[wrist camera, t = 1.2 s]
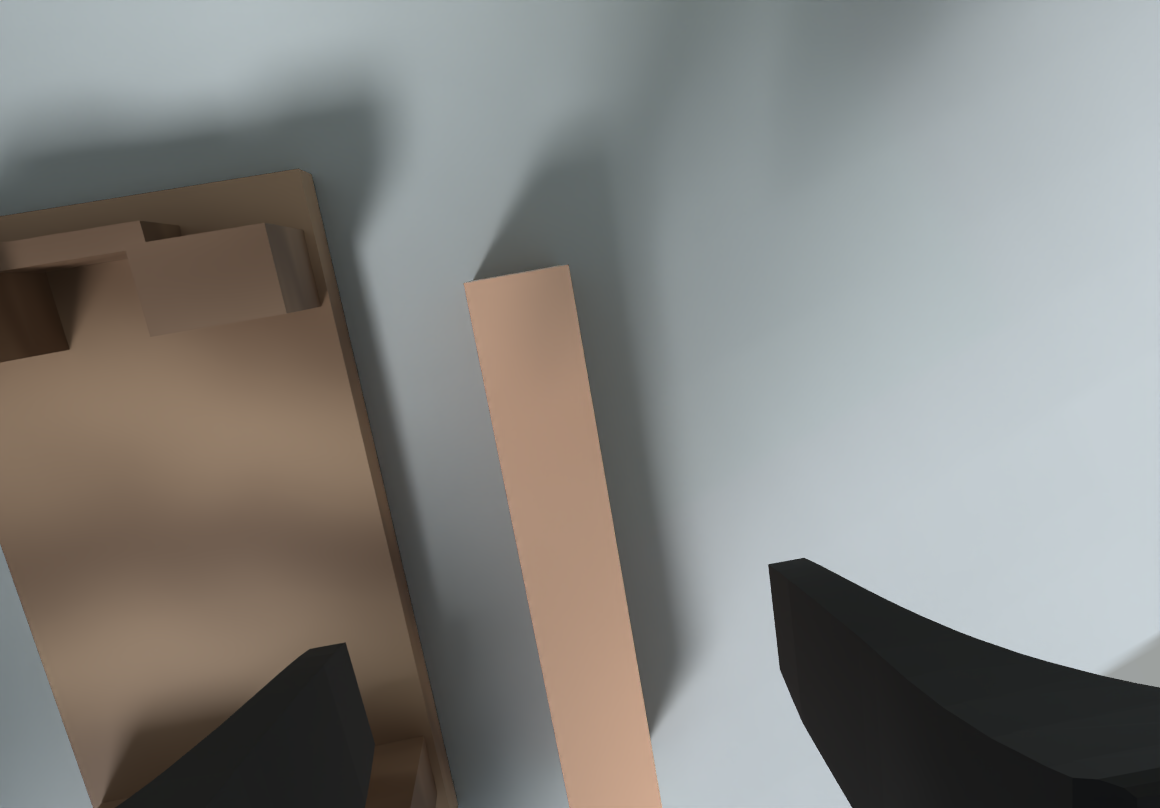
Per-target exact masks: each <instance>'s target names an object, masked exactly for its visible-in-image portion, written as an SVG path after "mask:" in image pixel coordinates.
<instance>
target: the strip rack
mask: <svg viewBox="0 0 1160 808" xmlns="http://www.w3.org/2000/svg"><path fill="white" fill-rule="evenodd" d="M0 544H1V547H2V550H3V553H4V555H5V558H6V561H7V564H8V567H9V570H10V573H11V575H12V578H13V581H14V584H15V587H16V590H17V593H18V595H19V598H20V601H21V604H22V607H23V610H24V612H25V615H26V618H27V621H28V624H29V627H30V630H31V632H32V635H33V638H34V641H35V644H36V647H37V649H38V652H39V655H40V658H41V661H42V664H43V667H44V669H45V672H46V675H47V678H48V681H49V684H50V686H51V689H52V692H53V695H54V698H55V701H56V704H57V706H58V709H59V712H60V715H61V718H62V721H63V723H64V726H65V729H66V732H67V735H68V738H69V741H70V743H71V746H72V749H73V752H74V755H75V758H76V760H77V763H78V766H79V769H80V772H81V775H82V778H83V780H84V783H85V786H86V789H87V792H88V795H89V797H90V800H91V803H92V806H93V808H115V807H117V806H118V805H120V804H121V803H122V802H124V801H125V800H127V799H128V798H129V797H131V796H132V795H134V794H135V793H136V792H138V791H139V790H140V789H142V788H143V787H144V786H146V785H147V784H148V783H150V782H151V781H152V780H154V779H155V778H156V777H157V776H159V775H160V774H161V773H163V772H164V771H165V770H166V769H168V768H169V767H170V766H171V765H173V764H174V763H175V762H176V761H177V760H179V759H180V758H181V757H182V756H183V755H185V754H186V753H187V752H188V751H190V750H191V749H192V748H193V747H194V746H196V745H197V744H198V743H199V742H201V741H202V740H203V739H204V738H205V737H207V736H208V735H209V734H210V733H211V732H213V731H214V730H215V729H216V728H218V727H219V726H220V725H221V724H222V723H223V722H224V721H226V720H227V719H228V718H229V717H230V716H231V715H232V714H234V713H235V712H236V711H237V710H238V709H239V708H240V707H242V706H243V705H244V704H245V703H246V702H247V701H248V700H249V699H251V698H252V697H253V696H254V695H255V694H256V693H257V692H259V691H260V690H261V689H262V688H263V687H264V686H265V685H266V684H268V683H269V682H270V681H271V680H272V679H273V678H274V677H275V676H277V675H278V674H279V673H280V672H281V671H282V670H284V669H285V668H286V667H287V666H288V665H289V664H291V663H292V662H293V661H294V660H295V659H297V658H298V657H299V656H301V655H302V654H303V653H305V652H306V651H307V650H309V649H312V648H317V647H323V646H328V645H333V644H339V643H344V642H346V645H347V649H348V652H349V656H350V659H351V663H352V666H353V669H354V673H355V676H356V680H357V683H358V687H359V690H360V694H361V697H362V701H363V704H364V708H365V711H366V715H367V718H368V722H369V725H370V728H371V732H372V735H373V739H374V742H375V749H374V756H373V763H372V770H371V777H370V782H369V788H368V794H367V799H366V805H365V808H458V802H457V797H456V793H455V789H454V785H453V780H452V776H451V772H450V767H449V763H448V759H447V754H446V750H445V746H444V742H443V737H442V733H441V729H440V724H439V720H438V716H437V712H436V707H435V703H434V699H433V694H432V690H431V686H430V681H429V677H428V673H427V669H426V664H425V660H424V656H423V651H422V647H421V643H420V638H419V634H418V630H417V626H416V621H415V617H414V613H413V608H412V604H411V600H410V596H409V591H408V587H407V583H406V578H405V574H404V570H403V565H402V561H401V557H400V553H399V548H398V544H397V540H396V535H395V531H394V527H393V522H392V518H391V514H390V510H389V505H388V501H387V497H386V492H385V488H384V484H383V479H382V475H381V471H380V467H379V462H378V458H377V454H376V449H375V445H374V441H373V437H372V432H371V428H370V424H369V419H368V415H367V411H366V406H365V402H364V398H363V394H362V389H361V385H360V381H359V376H358V372H357V368H356V363H355V359H354V355H353V351H352V346H351V342H350V338H349V333H348V329H347V325H346V321H345V316H344V312H343V308H342V303H341V299H340V295H339V290H338V286H337V282H336V278H335V273H334V269H333V265H332V260H331V256H330V252H329V247H328V243H327V239H326V235H325V230H324V226H323V222H322V217H321V213H320V209H319V205H318V200H317V196H316V192H315V187H314V183H313V179H312V175H311V174H309V173H307V172H305V171H303V170H301V169H293V170H287V171H281V172H274V173H268V174H262V175H256V176H249V177H243V178H237V179H231V180H224V181H218V182H212V183H206V184H199V185H193V186H187V187H181V188H174V189H168V190H162V191H156V192H149V193H143V194H137V195H131V196H124V197H118V198H112V199H106V200H99V201H93V202H87V203H81V204H74V205H68V206H62V207H56V208H49V209H43V210H37V211H31V212H24V213H18V214H12V215H5V216H0Z"/></svg>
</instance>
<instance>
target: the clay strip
mask: <svg viewBox="0 0 1160 808" xmlns="http://www.w3.org/2000/svg"><path fill="white" fill-rule="evenodd" d="M464 287H465V292H466V297H467V302H468V307H469V312H470V317H471V322H472V327H473V332H474V337H475V342H476V347H477V352H478V357H479V362H480V366H481V371H482V376H483V381H484V386H485V391H486V396H487V401H488V406H489V411H490V416H491V421H492V426H493V431H494V436H495V441H496V446H497V451H498V456H499V461H500V465H501V470H502V475H503V480H504V485H505V490H506V495H507V500H508V505H509V510H510V515H511V520H512V525H513V530H514V535H515V540H516V545H517V550H518V555H519V560H520V564H521V569H522V574H523V579H524V584H525V589H526V594H527V599H528V604H529V609H530V614H531V619H532V624H533V629H534V634H535V639H536V644H537V649H538V654H539V659H540V663H541V668H542V673H543V678H544V683H545V688H546V693H547V698H548V703H549V708H550V713H551V718H552V723H553V728H554V733H555V738H556V743H557V748H558V753H559V758H560V762H561V767H562V772H563V777H564V782H565V787H566V792H567V797H568V802H569V807H570V808H662V804H661V799H660V793H659V787H658V781H657V775H656V770H655V764H654V758H653V752H652V746H651V740H650V735H649V729H648V723H647V717H646V711H645V706H644V700H643V694H642V688H641V682H640V677H639V671H638V665H637V659H636V653H635V648H634V642H633V636H632V630H631V624H630V618H629V613H628V607H627V601H626V595H625V589H624V584H623V578H622V572H621V566H620V560H619V555H618V549H617V543H616V537H615V531H614V525H613V520H612V514H611V508H610V502H609V496H608V491H607V485H606V479H605V473H604V467H603V462H602V456H601V450H600V444H599V438H598V433H597V427H596V421H595V415H594V409H593V403H592V398H591V392H590V386H589V380H588V374H587V369H586V363H585V357H584V351H583V345H582V340H581V334H580V328H579V322H578V316H577V310H576V305H575V299H574V293H573V287H572V281H571V276H570V270H569V265H558V266H552V267H546V268H541V269H535V270H529V271H524V272H518V273H512V274H506V275H501V276H495V277H489V278H484V279H478V280H473V281H469V282H466V283H464Z"/></svg>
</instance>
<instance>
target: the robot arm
mask: <svg viewBox="0 0 1160 808" xmlns="http://www.w3.org/2000/svg"><path fill="white" fill-rule="evenodd" d="M768 566H769V575H770V584H771V593H772V602H773V611H774V620H775V629H776V638H777V647H778V656H779V665H780V670H781V673H782V675H783V678H784V680H785V683H786V685H787V687H788V690H789V692H790V695H791V697H792V699H793V702H794V704H795V706H796V709H797V711H798V713H799V715H800V718H801V720H802V722H803V724H804V726H805V728H806V729H807V731H808V733H809V735H810V736H811V738H812V740H813V741H814V743H815V745H816V747H817V748H818V750H819V752H820V754H821V755H822V757H823V759H824V760H825V762H826V764H827V766H828V767H829V769H830V771H831V772H832V774H833V776H834V778H835V779H836V781H837V783H838V784H839V786H840V788H841V789H842V791H843V793H844V795H845V796H846V798H847V800H848V801H849V803H850V805H851V806H852V808H1160V688H1159V687H1154V686H1148V685H1143V684H1137V683H1132V682H1128V681H1123V680H1119V679H1114V678H1110V677H1105V676H1101V675H1097V674H1093V673H1089V672H1085V671H1081V670H1077V669H1074V668H1070V667H1066V666H1062V665H1058V664H1054V663H1051V662H1047V661H1043V660H1040V659H1037V658H1033V657H1030V656H1027V655H1023V654H1020V653H1017V652H1014V651H1011V650H1008V649H1005V648H1002V647H1000V646H997V645H994V644H991V643H988V642H985V641H982V640H979V639H976V638H974V637H971V636H968V635H966V634H963V633H961V632H958V631H955V630H953V629H951V628H948V627H946V626H944V625H941V624H939V623H937V622H934V621H932V620H930V619H927V618H925V617H923V616H920V615H918V614H916V613H914V612H911V611H909V610H907V609H905V608H903V607H901V606H899V605H897V604H894V603H892V602H890V601H888V600H886V599H884V598H882V597H880V596H878V595H876V594H874V593H872V592H870V591H868V590H866V589H864V588H862V587H861V586H859V585H857V584H855V583H853V582H851V581H849V580H847V579H845V578H843V577H841V576H839V575H838V574H836V573H834V572H832V571H830V570H828V569H826V568H824V567H822V566H820V565H818V564H816V563H814V562H812V561H810V560H808V559H805V558H801V559H795V560H790V561H784V562H779V563H773V564H768ZM374 749H375V742H374V739H373V735H372V732H371V728H370V725H369V722H368V718H367V715H366V711H365V708H364V704H363V701H362V697H361V694H360V690H359V687H358V683H357V680H356V676H355V673H354V669H353V666H352V663H351V659H350V656H349V652H348V649H347V645H346V642H344V643H339V644H333V645H328V646H323V647H317V648H312V649H309V650H307V651H306V652H305V653H303V654H302V655H301V656H299V657H298V658H297V659H295V660H294V661H293V662H292V663H291V664H289V665H288V666H287V667H286V668H285V669H284V670H282V671H281V672H280V673H279V674H278V675H277V676H275V677H274V678H273V679H272V680H271V681H270V682H269V683H268V684H266V685H265V686H264V687H263V688H262V689H261V690H260V691H259V692H257V693H256V694H255V695H254V696H253V697H252V698H251V699H249V700H248V701H247V702H246V703H245V704H244V705H243V706H242V707H240V708H239V709H238V710H237V711H236V712H235V713H234V714H232V715H231V716H230V717H229V718H228V719H227V720H226V721H224V722H223V723H222V724H221V725H220V726H219V727H218V728H216V729H215V730H214V731H213V732H211V733H210V734H209V735H208V736H207V737H205V738H204V739H203V740H202V741H201V742H199V743H198V744H197V745H196V746H194V747H193V748H192V749H191V750H190V751H188V752H187V753H186V754H185V755H183V756H182V757H181V758H180V759H179V760H177V761H176V762H175V763H174V764H173V765H171V766H170V767H169V768H168V769H166V770H165V771H164V772H163V773H161V774H160V775H159V776H157V777H156V778H155V779H154V780H152V781H151V782H150V783H148V784H147V785H146V786H144V787H143V788H142V789H140V790H139V791H138V792H136V793H135V794H134V795H132V796H131V797H129V798H128V799H127V800H125V801H124V802H122V803H121V804H120V805H118V806H117V807H115V808H365V805H366V799H367V794H368V788H369V782H370V777H371V770H372V763H373V756H374Z"/></svg>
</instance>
